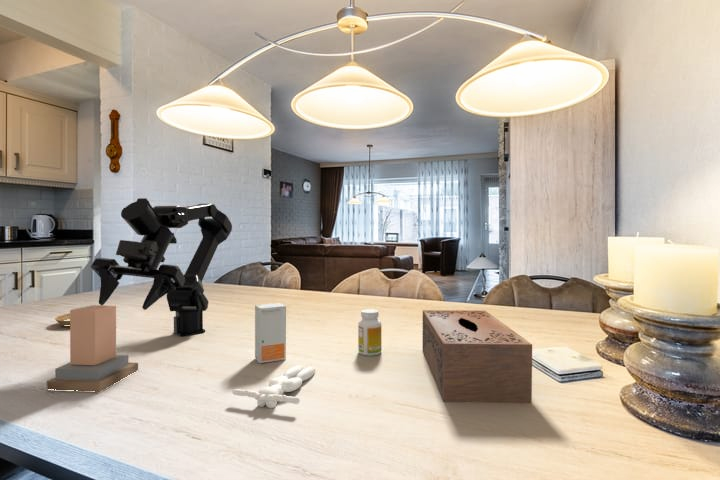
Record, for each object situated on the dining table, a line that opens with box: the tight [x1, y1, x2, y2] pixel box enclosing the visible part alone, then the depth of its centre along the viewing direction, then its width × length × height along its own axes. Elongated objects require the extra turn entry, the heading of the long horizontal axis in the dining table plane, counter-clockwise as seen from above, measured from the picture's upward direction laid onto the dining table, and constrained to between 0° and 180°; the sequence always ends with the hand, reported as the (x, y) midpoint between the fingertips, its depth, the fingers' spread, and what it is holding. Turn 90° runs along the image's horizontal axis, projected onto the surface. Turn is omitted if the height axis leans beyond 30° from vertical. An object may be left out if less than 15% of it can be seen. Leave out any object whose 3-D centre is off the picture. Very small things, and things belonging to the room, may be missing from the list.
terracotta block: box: [69, 304, 117, 365], centre depth 71 cm, size 5×5×10 cm
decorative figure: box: [232, 365, 316, 409], centre depth 67 cm, size 4×12×18 cm
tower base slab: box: [46, 361, 139, 393], centre depth 71 cm, size 10×10×2 cm
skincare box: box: [254, 302, 287, 364], centre depth 82 cm, size 6×4×12 cm
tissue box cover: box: [422, 309, 533, 404], centre depth 74 cm, size 26×14×10 cm, turn 178°
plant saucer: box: [54, 312, 70, 326], centre depth 115 cm, size 15×15×3 cm
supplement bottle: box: [357, 308, 383, 357], centre depth 87 cm, size 5×5×10 cm
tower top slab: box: [54, 353, 129, 381], centre depth 71 cm, size 8×8×2 cm
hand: (122, 306), depth 79 cm, fingers open, 9 cm apart
